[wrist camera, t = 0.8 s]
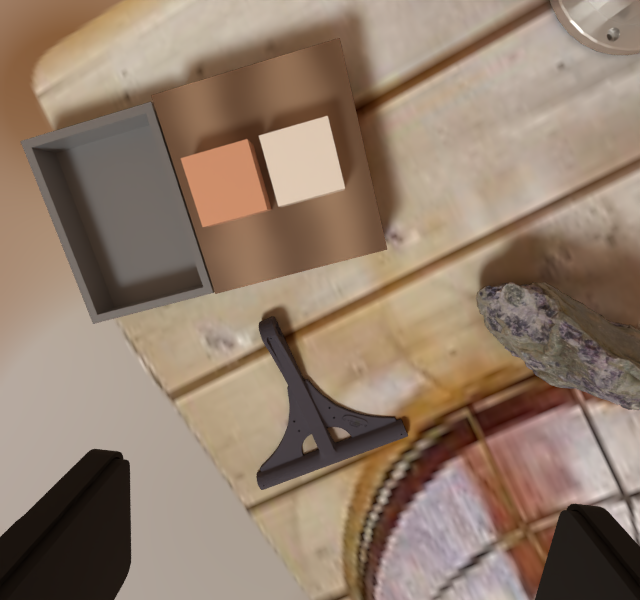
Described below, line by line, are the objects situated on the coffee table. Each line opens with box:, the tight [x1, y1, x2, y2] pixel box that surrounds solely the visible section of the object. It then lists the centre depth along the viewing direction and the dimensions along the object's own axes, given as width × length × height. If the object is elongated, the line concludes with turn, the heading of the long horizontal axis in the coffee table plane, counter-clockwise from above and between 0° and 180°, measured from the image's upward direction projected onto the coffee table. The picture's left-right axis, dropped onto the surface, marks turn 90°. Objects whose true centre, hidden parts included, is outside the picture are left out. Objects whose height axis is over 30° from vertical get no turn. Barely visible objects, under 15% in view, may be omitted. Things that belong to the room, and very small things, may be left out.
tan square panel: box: [151, 38, 387, 294], centre depth 29 cm, size 13×14×4 cm
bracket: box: [257, 317, 408, 490], centre depth 34 cm, size 14×15×3 cm
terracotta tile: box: [181, 139, 272, 227], centre depth 26 cm, size 4×4×2 cm
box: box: [21, 102, 215, 324], centre depth 30 cm, size 10×14×3 cm
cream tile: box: [259, 116, 345, 207], centre depth 26 cm, size 4×4×2 cm
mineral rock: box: [476, 282, 640, 410], centre depth 28 cm, size 13×11×10 cm
